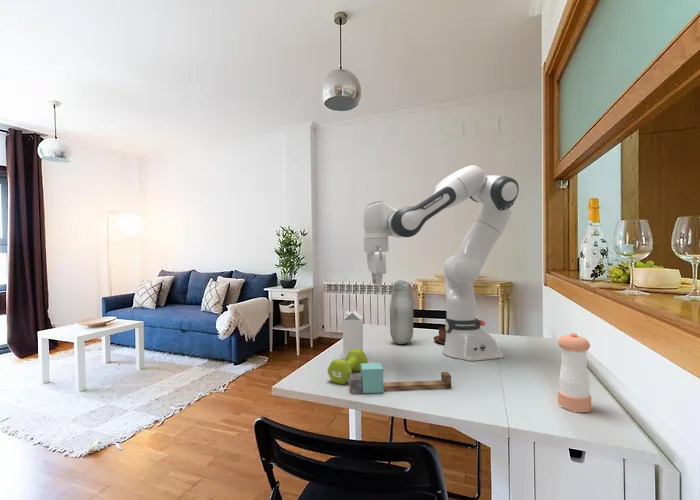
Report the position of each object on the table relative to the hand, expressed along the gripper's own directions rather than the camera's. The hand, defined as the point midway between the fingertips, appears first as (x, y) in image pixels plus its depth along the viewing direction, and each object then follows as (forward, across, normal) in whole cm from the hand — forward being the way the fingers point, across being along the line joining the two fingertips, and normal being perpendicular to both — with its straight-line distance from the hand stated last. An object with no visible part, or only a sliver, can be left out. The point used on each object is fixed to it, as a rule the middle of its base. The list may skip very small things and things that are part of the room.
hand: (376, 285), depth 125 cm
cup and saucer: (+29, +28, -35) cm, 54 cm away
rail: (+29, -22, -3) cm, 36 cm away
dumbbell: (+29, -10, +11) cm, 33 cm away
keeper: (+29, -22, +5) cm, 36 cm away
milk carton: (+29, +10, +8) cm, 32 cm away
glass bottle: (+29, +28, -15) cm, 43 cm away
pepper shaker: (+29, -38, -46) cm, 66 cm away
